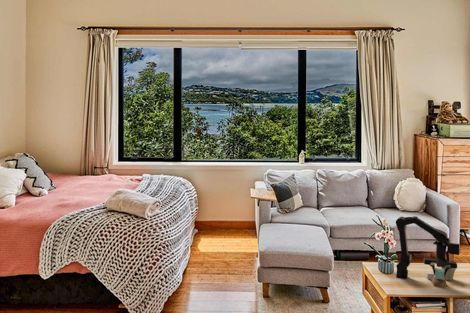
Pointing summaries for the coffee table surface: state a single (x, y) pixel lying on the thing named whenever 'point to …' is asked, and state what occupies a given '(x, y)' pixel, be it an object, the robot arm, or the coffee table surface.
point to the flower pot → (449, 274)
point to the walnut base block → (438, 282)
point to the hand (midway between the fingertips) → (439, 275)
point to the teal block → (439, 273)
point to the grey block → (429, 275)
